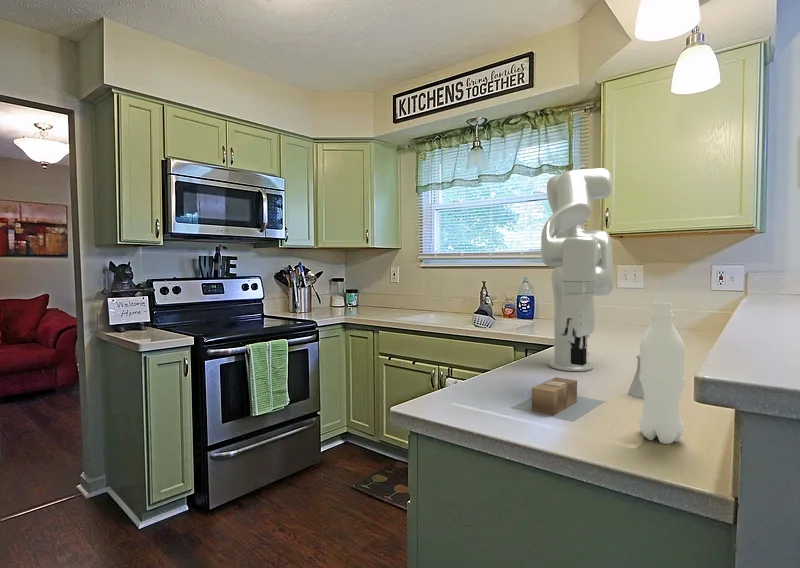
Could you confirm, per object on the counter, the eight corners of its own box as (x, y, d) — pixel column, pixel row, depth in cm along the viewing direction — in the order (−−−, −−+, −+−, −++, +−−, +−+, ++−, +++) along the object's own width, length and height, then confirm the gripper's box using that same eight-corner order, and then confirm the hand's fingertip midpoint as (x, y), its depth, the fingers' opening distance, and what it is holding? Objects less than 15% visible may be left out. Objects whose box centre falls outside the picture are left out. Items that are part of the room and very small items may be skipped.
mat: (547, 392, 116) (547, 390, 116) (605, 403, 106) (605, 401, 106) (510, 410, 103) (510, 407, 102) (573, 424, 93) (573, 421, 93)
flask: (665, 402, 107) (665, 359, 106) (631, 401, 108) (631, 358, 108) (654, 393, 114) (655, 353, 113) (623, 392, 115) (623, 352, 115)
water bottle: (675, 432, 88) (676, 300, 87) (690, 447, 81) (692, 304, 80) (634, 430, 89) (635, 300, 88) (645, 445, 82) (646, 304, 81)
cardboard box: (555, 376, 109) (531, 386, 100) (577, 379, 105) (553, 390, 96) (555, 398, 109) (531, 410, 100) (576, 402, 106) (553, 415, 97)
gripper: (576, 286, 119) (575, 357, 120) (549, 290, 109) (549, 367, 110) (606, 287, 114) (605, 361, 115) (581, 291, 103) (581, 372, 104)
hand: (578, 364), depth 112 cm, fingers closed
